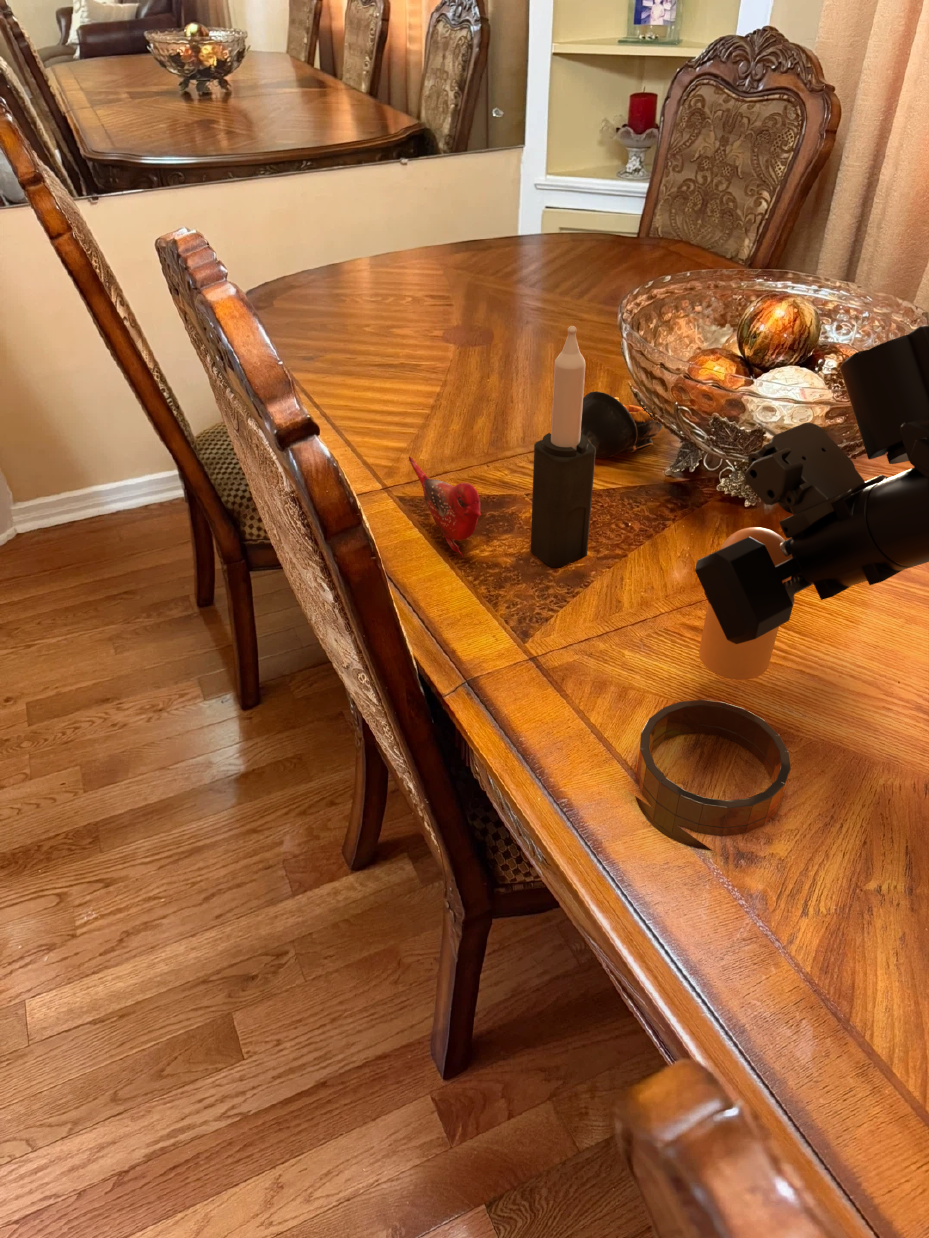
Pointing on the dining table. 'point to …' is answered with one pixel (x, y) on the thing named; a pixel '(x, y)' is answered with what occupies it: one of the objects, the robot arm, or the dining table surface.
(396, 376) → the dining table surface
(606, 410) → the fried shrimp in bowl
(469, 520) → the decorative bird figurine
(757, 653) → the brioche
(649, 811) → the brown ring
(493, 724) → the dining table surface
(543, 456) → the candle
